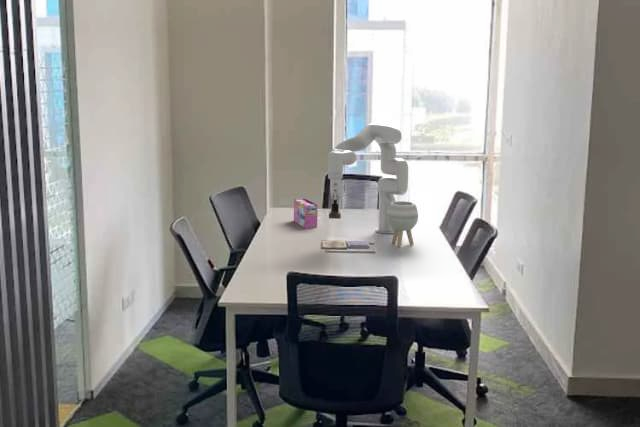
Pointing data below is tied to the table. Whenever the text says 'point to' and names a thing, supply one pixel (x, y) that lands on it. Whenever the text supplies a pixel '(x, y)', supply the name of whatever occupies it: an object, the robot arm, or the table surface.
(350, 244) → the ink pad
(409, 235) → the planter
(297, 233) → the table surface
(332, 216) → the stamp
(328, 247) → the marked board
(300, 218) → the gum box
